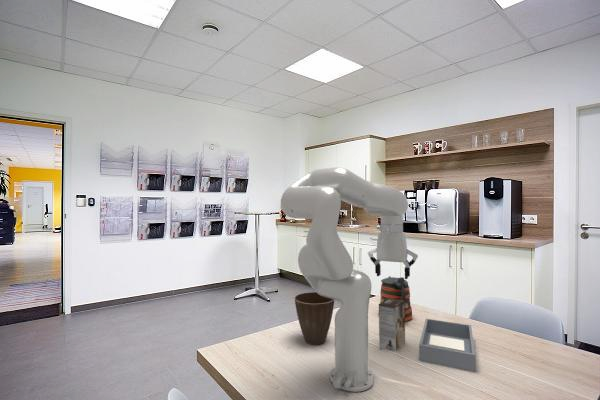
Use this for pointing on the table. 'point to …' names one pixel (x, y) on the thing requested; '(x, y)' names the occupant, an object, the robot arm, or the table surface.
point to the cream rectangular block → (447, 343)
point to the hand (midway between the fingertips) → (392, 276)
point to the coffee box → (391, 324)
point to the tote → (446, 355)
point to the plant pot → (314, 316)
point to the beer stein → (397, 293)
